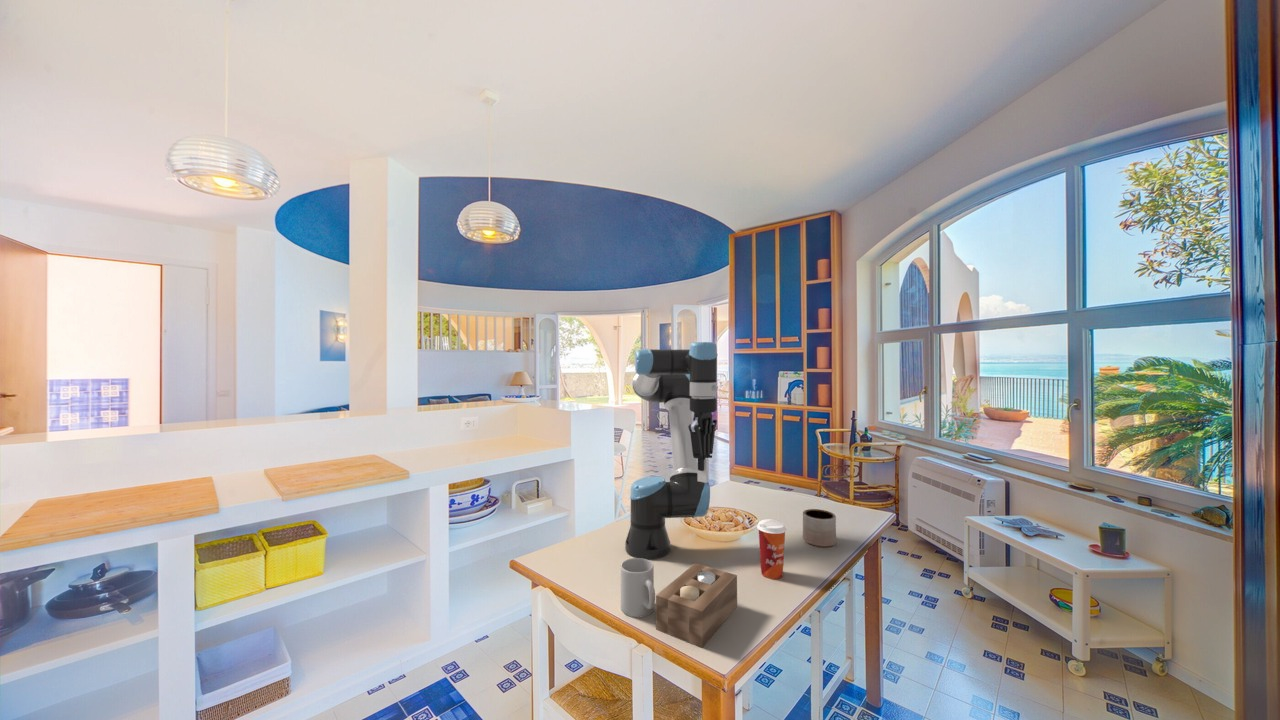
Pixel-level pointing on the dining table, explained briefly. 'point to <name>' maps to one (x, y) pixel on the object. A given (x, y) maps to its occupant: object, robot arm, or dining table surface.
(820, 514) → the planter
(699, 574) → the aluminium peg
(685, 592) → the beech peg
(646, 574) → the mug
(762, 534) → the coffee cup
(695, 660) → the dining table surface
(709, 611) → the walnut socket block
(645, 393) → the robot arm
